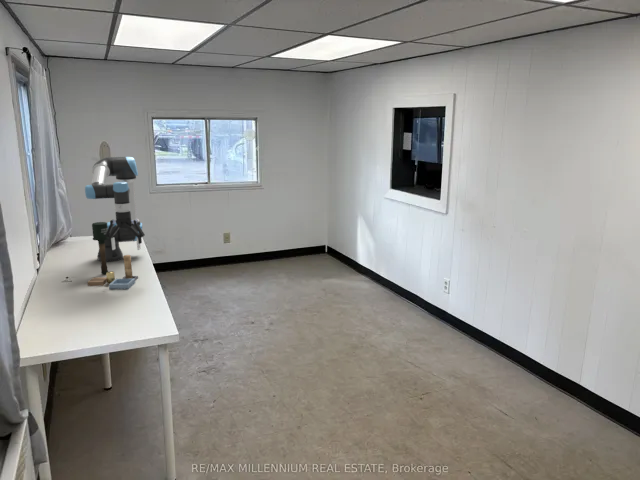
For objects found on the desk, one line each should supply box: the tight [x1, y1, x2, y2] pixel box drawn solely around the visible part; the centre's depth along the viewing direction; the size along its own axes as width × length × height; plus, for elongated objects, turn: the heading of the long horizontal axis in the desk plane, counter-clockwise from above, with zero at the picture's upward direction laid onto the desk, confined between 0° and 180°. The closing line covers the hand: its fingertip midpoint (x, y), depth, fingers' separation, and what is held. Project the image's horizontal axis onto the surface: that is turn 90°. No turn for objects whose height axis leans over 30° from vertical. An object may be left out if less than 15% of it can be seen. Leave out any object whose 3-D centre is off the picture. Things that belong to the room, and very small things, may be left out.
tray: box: [108, 278, 136, 290], centre depth 255 cm, size 10×10×2 cm
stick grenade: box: [91, 221, 109, 276], centre depth 271 cm, size 8×9×30 cm
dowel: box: [123, 254, 134, 279], centre depth 263 cm, size 4×4×14 cm
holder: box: [121, 275, 139, 281], centre depth 265 cm, size 7×7×1 cm
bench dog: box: [105, 270, 116, 285], centre depth 259 cm, size 4×4×6 cm
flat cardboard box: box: [87, 276, 107, 287], centre depth 259 cm, size 8×8×2 cm
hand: (126, 249), depth 260 cm, fingers open, 13 cm apart
